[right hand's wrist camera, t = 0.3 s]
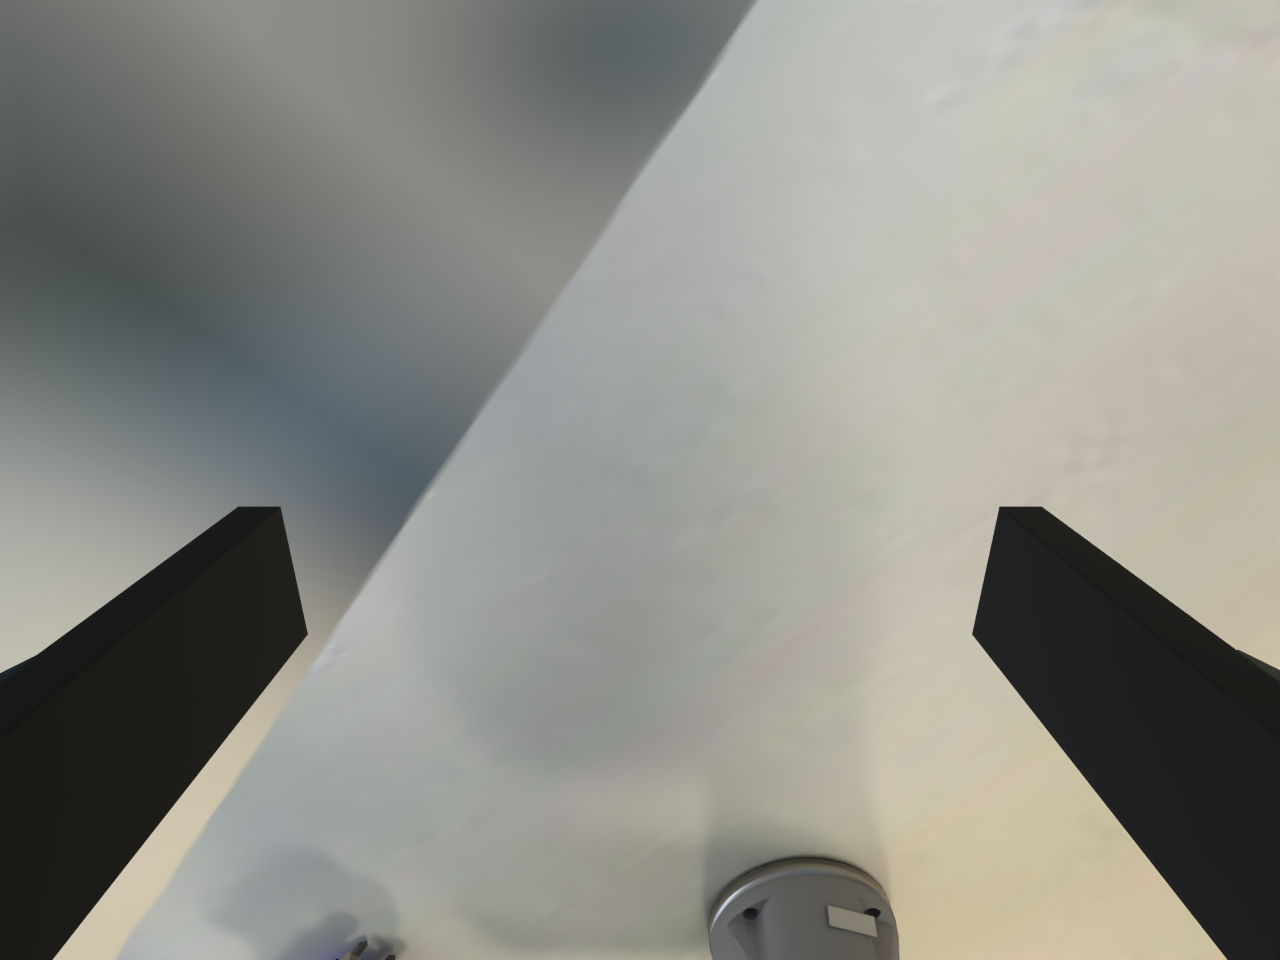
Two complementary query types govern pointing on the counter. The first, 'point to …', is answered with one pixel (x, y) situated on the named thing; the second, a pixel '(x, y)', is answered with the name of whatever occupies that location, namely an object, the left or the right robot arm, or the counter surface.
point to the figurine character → (353, 958)
